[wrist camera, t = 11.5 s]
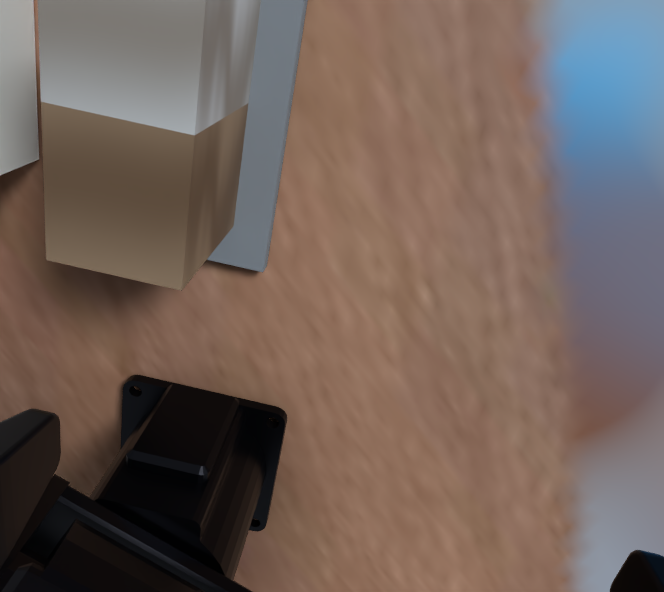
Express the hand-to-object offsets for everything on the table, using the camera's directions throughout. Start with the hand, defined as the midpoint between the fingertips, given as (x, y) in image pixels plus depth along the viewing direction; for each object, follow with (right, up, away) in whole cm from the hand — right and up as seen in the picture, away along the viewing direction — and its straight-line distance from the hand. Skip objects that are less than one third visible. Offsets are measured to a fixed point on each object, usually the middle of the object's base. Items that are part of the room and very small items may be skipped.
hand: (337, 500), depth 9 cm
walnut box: (-4, +9, +9) cm, 13 cm away
